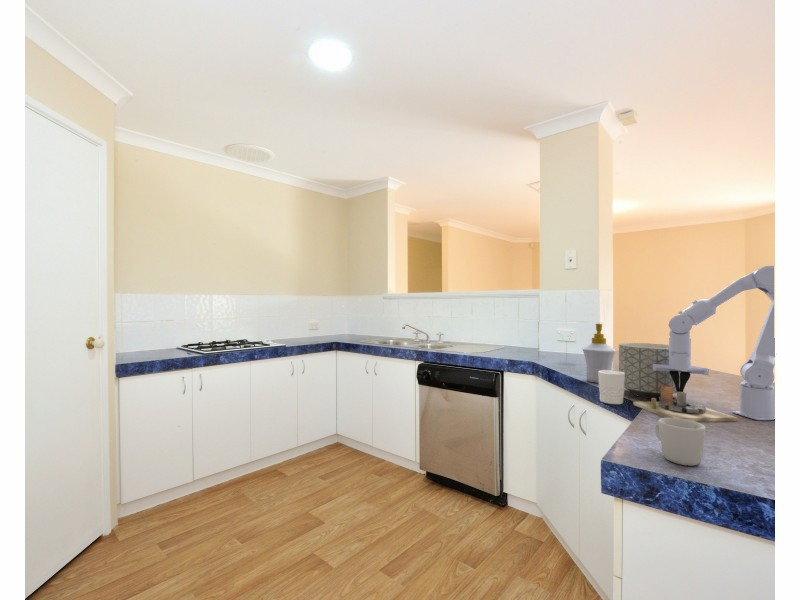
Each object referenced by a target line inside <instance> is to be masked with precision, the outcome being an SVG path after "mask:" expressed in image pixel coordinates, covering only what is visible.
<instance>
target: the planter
mask: <svg viewBox="0 0 800 600" xmlns="http://www.w3.org/2000/svg"><path fill="white" fill-rule="evenodd" d="M653 364H662V365H669V344H663V343H653V342H652V343H650V342H649V343H648V342H621V343H619V344H618V371H620V372H624V373H625V382H624V389H626V390H627V391H629V392H630V393H632V394H633V395H635V396H637V395H638V396H637V397H640V396H641V398H645V397H647V399H652V398H656V400H657V399H658V398H659V397H661V385H669V386H672V387H673V395H674V394H677V392H676V387H675V384H674V381H673V379H672V377H671V375H670V373H669V371H653ZM673 370H674V369H673ZM678 371H683V370H678ZM680 373H681V372H679V376H680ZM679 389H680V377H679ZM658 400H659V399H658Z"/></svg>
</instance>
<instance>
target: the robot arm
mask: <svg viewBox="0 0 800 600" xmlns="http://www.w3.org/2000/svg"><path fill="white" fill-rule="evenodd" d="M774 266H775V265H765V266H762V267H759V268H757V269H755V270H753V271H752V272H751V273H748V274H746V275H744V276H742V277H740V278H737V279H736V280H734V281H732V283H730V284H729V285H727V286H726V287H724V288H722V290H720V291H718V292H717V293H715V294H714V295H712V296H711V297H710V298H709V299H705V298H704V299H703V298H700V299H698V300H693V301H692V302H691V305H690V306H688V307H687V308H685V309H683V310H679V311H678V312H677V313H678V315H674V316H673V317H672V318H670V319H669V321H668V327H669V329H670V331H669V333H668V335H669V337H668V345H669V365H662V364H653V371H669V373H670V375H671V377H672V379H673V381H674V384H675V387H676V392H684V390H685V387H686V385H687V383H688V381H689V379H690V378H691V374H693V375H694V374H696V375H704V376H709V374H710V372H709V370H710V369H709V368H707V367H699V366H691V365H692V363H691V362H692V361H691V360H692V357H691V355H692V352H691V351H692V347H691V346H692V345H691V344H692V342H691V341H692V339H691V335H690V333H691V332H690V331H691V330H692V327H693V326H698V325H699V324H701V323H702V322H704V321H706V320H707V319H710V317H711V316H714V315H715V314H716V312H717V307H719V306H721V305H722V304H724V303H726V302H727V301H730V300H731V299H732V298H734V297H735V296H737V295H739V294H740V293H741V292H744V291H745V292H746V291H748V290H754V289H755V290H756V289H759V290H760V291H762V292H763V293H764V294H765V295H766V296H767V298H769V300H771V303H770V306H769V308H768V311H767V313H766V317H765V319H764V321H763V325H762V327H761V329H760V332H759V334H758V337H757V340H756V343H755V345H754V348H753V350H752V352H751V354H750V355H749V357H748V359H747V361H746V362H745V363H744V364H742V365H741V366H740V370H739V371H740V375H741V377H742V378H743V380H742V381H741V382H740V385H739V387H740V388H739V389H740V390H739V393H740V394H739V396H740V397H739V398H740V399H739V400H740V401H739V403H740V405H739V410H732V413H733V414H736V415H740V416H743V417H746V418H749V419H753V420H755V421H775V420H774V387H775V386H774V385H772V384H773V382H774V380H775V374H774V368H775V365H776V362H775V361H776V359H775V358H776V356H775V338H774ZM673 369H674V370H673ZM678 370H682V371H678ZM679 372H681V373H680V376H679ZM679 377H680V389H679Z"/></svg>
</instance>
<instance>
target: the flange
mask: <svg viewBox="0 0 800 600" xmlns="http://www.w3.org/2000/svg"><path fill="white" fill-rule="evenodd" d="M673 396H674V394H673V387H672V386H669V385H661V397H659V399H658V402H659V406H661V407H663V408H666V409H669V410H674V411H679V412H683V411H685V412H687V413H699V412H701V413H703V412H705V411H706V408H707V407H706V406H705V405H702V404H699V403H695V402H692V401H687V402H686V406H678V405H677V399H674V397H673Z"/></svg>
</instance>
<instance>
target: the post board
mask: <svg viewBox="0 0 800 600" xmlns="http://www.w3.org/2000/svg"><path fill="white" fill-rule="evenodd" d="M676 400H677V405H678V406H686V402H688V401H687V392H684V391H683V392H677V393H676ZM633 406H635V407H638V408H641V409H643V410H645V411H648V412H650V413H654V414H656V415H658V416H660V417H662V418H680V419H686V420H691V421H695V422H737V421H738V417H736V416H733V415H731V414H727V413H724V412H720V411H717V410H714V409H712V408H708V407H705V408H706V411H705V412H703V413H701V412H699V413H687V412H685V411H683V412H679V411H674V410H669V409H666V408H663V407H661V406H659V401H657V399H656V398H651V401H633Z"/></svg>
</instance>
